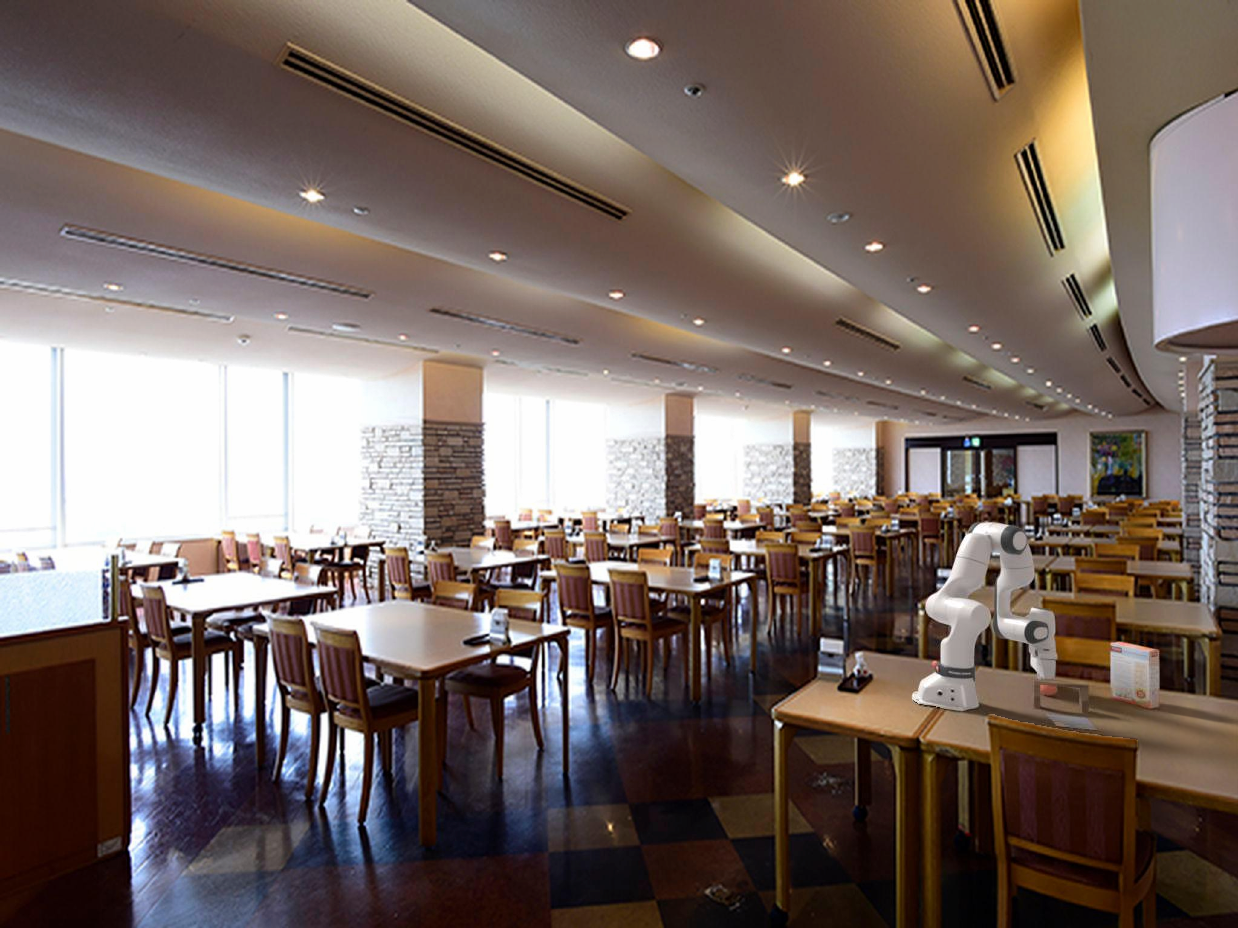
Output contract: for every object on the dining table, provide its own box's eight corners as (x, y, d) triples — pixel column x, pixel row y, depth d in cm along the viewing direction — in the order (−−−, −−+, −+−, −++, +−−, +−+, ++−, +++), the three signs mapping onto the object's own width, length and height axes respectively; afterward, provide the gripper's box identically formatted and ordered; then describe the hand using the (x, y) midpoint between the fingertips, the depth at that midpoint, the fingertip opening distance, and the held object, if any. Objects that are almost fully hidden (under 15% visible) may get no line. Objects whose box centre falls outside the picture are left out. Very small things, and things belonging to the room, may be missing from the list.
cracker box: (1160, 707, 257) (1160, 649, 257) (1149, 709, 255) (1149, 651, 255) (1120, 695, 270) (1120, 640, 270) (1109, 697, 268) (1109, 642, 268)
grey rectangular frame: (1088, 712, 252) (1088, 685, 252) (1034, 707, 257) (1033, 680, 257) (1085, 709, 255) (1085, 682, 255) (1032, 705, 260) (1031, 678, 260)
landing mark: (1056, 726, 239) (1056, 726, 239) (1046, 714, 250) (1046, 714, 250) (1097, 730, 235) (1097, 730, 235) (1086, 718, 246) (1086, 717, 246)
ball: (1041, 696, 269) (1041, 680, 269) (1037, 691, 275) (1037, 676, 275) (1059, 698, 267) (1059, 682, 267) (1054, 693, 273) (1054, 677, 273)
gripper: (1026, 642, 289) (1026, 676, 289) (1039, 654, 269) (1039, 691, 269) (1043, 643, 287) (1043, 677, 287) (1058, 656, 267) (1058, 693, 267)
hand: (1041, 684), depth 278 cm, fingers closed
